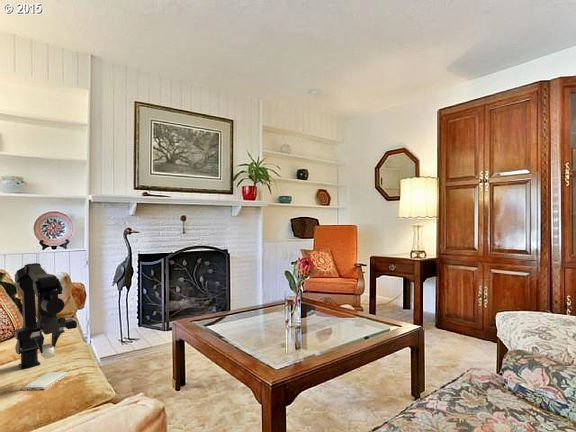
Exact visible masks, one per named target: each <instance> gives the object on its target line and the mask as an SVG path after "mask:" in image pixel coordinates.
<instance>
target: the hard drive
mask: <svg viewBox="0 0 576 432" xmlns="http://www.w3.org/2000/svg"><path fill="white" fill-rule="evenodd" d="M68 375H69V372H68V371H47V372H46V373H44V374H42V375H41V376H39V377H37V378H36V379H34V380H33V381H31V382H30V383H28V384H26V385H25V386H23V387H22V389H21V390H22V391H28V390H27V389H45V388H47V387H48V386H50V385H51V386H53V385H55V384H56V383H57V382H59V381H60V380H62V379H63V378H65V377H66V376H68ZM58 380H59V381H58ZM55 382H56V383H55ZM52 384H53V385H52ZM51 386H50V387H51ZM48 388H49V387H48ZM48 388H47V389H48ZM45 390H46V389H45Z"/></svg>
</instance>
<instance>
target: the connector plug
mask: <svg viewBox="0 0 576 432" xmlns="http://www.w3.org/2000/svg"><path fill="white" fill-rule="evenodd" d="M42 348H43V353H41V352H40V351H39V352H40V354H39V355H40V356H41V357H43V358H44V359H50V358H53V357H54V356H55V348H54V346H53V345H51V343H43V344H42Z"/></svg>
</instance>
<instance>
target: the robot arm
mask: <svg viewBox="0 0 576 432" xmlns="http://www.w3.org/2000/svg"><path fill="white" fill-rule="evenodd" d="M14 282H15V283H16V287H17V289H18V290H19V291H20V292H21V302H22V303H21V304H22V305H21V306H22V328H21V327H20V328H17V329H15V331H14V335H13V337H14V338H15V339H16V340H17V341H16V343H15V347H14V348H15V353H16V354H18V355H20V363H18V367H19V368H20V370H25V369H28V368H31V367H32V368H33V367H35V366H40V365H41V362H40V361H39V352H41V353H43V348H42V344H45V336H47V335H50V334H51V343H50V344H51V345H53V346H54V349H55V348H56V345H57V343H58V339H59V338H60V336H61V335H62V334H63V333H65V332H66V331H65V328H66V329H67V330H68V331H69V330H72V329H77V328H78V322H77V321H76V320H74V318H67V319H66V317H65V316H62V317H58V316H57V315H58V314H59V313H61V312H62V311H63V310H64V308H65V302H64V300H63V299H61V298H60V297H59V295H62V294H63V285H62V283H61V281H60V279H59V278H58V277H57V276H56V275H54V274H51V273H47V272H46V271H45V269H43V267H42V265H41V263H38V262H35V263H27V264H24V266H23V267H21V268H20V269H17V270H16V272H15V274H14ZM36 304H37V305H36ZM36 309H37V310H36ZM43 334H44V335H45V336H44V335H43ZM38 350H39V351H38Z"/></svg>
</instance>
